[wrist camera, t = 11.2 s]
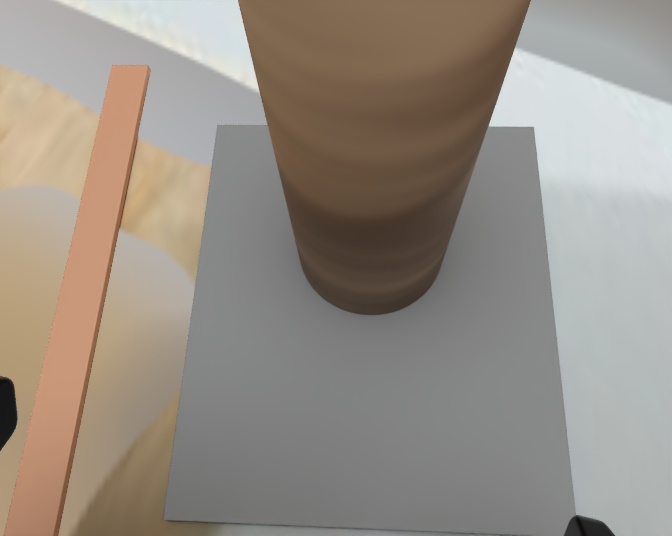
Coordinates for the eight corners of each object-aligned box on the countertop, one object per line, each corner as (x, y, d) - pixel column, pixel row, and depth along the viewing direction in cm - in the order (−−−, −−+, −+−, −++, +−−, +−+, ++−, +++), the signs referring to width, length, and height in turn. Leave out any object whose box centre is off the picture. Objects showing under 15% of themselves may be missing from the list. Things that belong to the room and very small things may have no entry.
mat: (573, 537, 17) (578, 537, 17) (167, 519, 18) (163, 519, 17) (531, 133, 22) (533, 126, 22) (219, 130, 23) (217, 125, 23)
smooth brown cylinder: (385, 345, 19) (443, -9, 6) (269, 259, 20) (112, -182, 7) (471, 234, 20) (667, -246, 7) (357, 160, 22) (354, -357, 9)
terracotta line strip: (39, 629, 17) (33, 631, 16) (-13, 626, 17) (-19, 628, 16) (150, 70, 24) (148, 65, 24) (115, 70, 24) (112, 65, 24)
